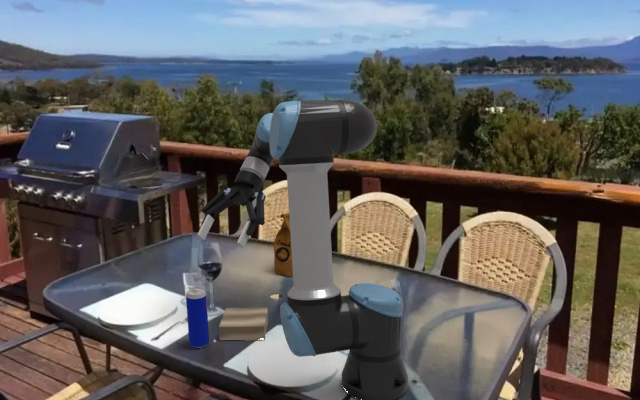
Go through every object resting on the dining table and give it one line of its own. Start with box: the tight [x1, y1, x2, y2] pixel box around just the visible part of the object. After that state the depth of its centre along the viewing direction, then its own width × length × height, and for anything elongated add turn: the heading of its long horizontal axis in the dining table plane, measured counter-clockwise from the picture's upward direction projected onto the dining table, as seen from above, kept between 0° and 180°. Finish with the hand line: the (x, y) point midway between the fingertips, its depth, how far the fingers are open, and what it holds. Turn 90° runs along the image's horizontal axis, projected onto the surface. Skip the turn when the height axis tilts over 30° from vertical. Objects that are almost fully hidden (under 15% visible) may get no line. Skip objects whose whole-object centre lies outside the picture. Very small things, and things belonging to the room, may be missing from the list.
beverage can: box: [185, 287, 210, 348], centre depth 148 cm, size 5×5×15 cm
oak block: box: [218, 307, 269, 341], centre depth 157 cm, size 12×12×4 cm
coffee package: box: [273, 212, 293, 278], centre depth 200 cm, size 10×12×22 cm
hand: (220, 241), depth 153 cm, fingers open, 13 cm apart
